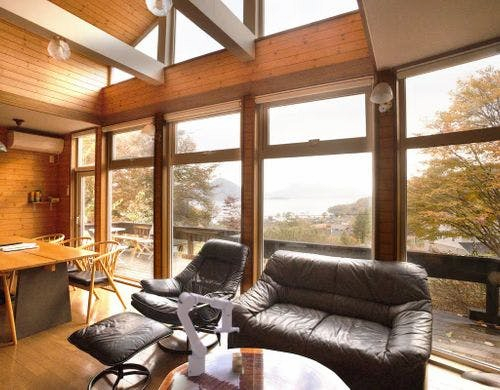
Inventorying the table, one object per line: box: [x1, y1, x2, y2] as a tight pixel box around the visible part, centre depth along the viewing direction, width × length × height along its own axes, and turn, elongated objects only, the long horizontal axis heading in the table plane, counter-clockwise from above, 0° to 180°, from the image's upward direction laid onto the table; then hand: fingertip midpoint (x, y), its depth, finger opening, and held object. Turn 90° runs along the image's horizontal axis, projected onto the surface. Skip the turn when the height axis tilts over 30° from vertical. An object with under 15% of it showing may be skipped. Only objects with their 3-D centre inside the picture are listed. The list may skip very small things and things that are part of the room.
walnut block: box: [231, 360, 243, 373], centre depth 165 cm, size 5×5×4 cm
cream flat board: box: [229, 366, 245, 375], centre depth 165 cm, size 11×8×1 cm
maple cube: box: [232, 352, 243, 366], centre depth 165 cm, size 4×4×4 cm
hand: (226, 345), depth 173 cm, fingers open, 7 cm apart
